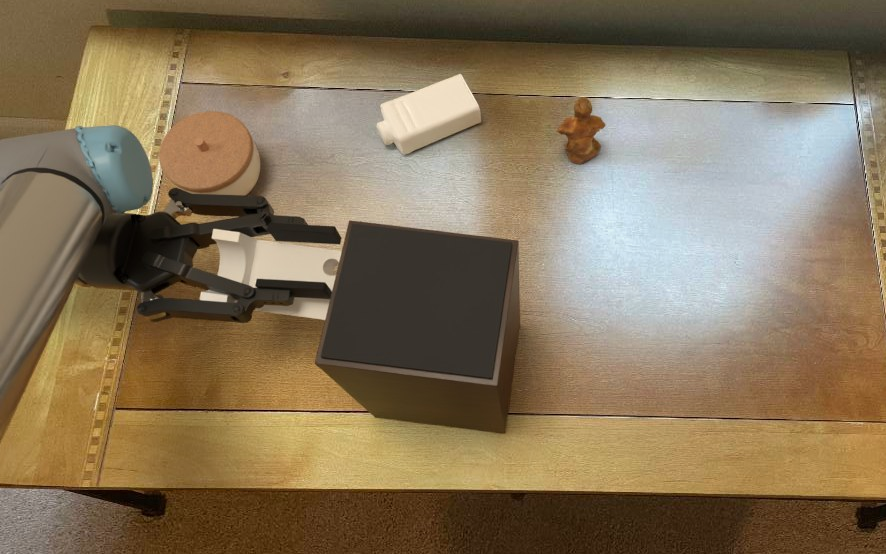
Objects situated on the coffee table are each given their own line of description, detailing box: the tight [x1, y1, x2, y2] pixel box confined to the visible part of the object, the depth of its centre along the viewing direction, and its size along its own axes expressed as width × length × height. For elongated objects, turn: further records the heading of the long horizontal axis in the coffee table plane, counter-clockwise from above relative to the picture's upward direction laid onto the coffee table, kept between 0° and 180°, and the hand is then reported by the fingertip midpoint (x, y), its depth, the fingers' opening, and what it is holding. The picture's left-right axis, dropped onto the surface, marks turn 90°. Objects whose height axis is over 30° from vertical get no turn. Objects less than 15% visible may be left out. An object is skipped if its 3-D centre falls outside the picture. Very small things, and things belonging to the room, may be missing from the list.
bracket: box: [199, 229, 342, 321], centre depth 72 cm, size 13×7×8 cm, turn 82°
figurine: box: [556, 96, 606, 165], centre depth 89 cm, size 5×6×12 cm
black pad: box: [321, 224, 512, 379], centre depth 60 cm, size 12×14×1 cm
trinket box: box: [158, 110, 262, 196], centre depth 87 cm, size 11×11×9 cm
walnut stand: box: [314, 219, 521, 435], centre depth 72 cm, size 13×15×25 cm
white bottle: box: [376, 73, 482, 155], centre depth 93 cm, size 6×13×4 cm, turn 117°
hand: (332, 262), depth 70 cm, fingers open, 5 cm apart
